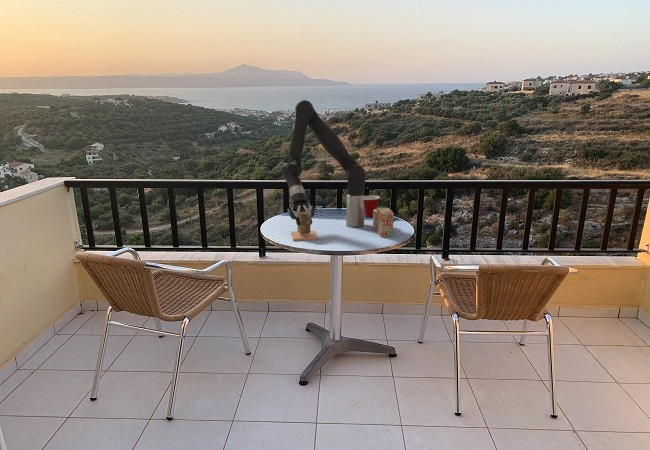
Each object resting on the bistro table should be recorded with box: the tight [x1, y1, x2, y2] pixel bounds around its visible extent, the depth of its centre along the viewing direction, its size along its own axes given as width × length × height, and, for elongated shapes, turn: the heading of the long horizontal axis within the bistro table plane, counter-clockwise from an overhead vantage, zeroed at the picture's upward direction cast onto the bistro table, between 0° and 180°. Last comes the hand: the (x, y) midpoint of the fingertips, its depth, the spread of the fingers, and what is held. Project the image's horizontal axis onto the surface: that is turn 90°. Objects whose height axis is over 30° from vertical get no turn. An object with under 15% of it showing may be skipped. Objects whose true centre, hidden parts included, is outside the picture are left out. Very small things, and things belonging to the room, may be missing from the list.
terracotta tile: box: [290, 230, 319, 242], centre depth 199 cm, size 12×12×1 cm
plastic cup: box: [363, 194, 381, 218], centre depth 238 cm, size 11×11×12 cm
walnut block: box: [297, 210, 311, 234], centre depth 197 cm, size 5×5×10 cm
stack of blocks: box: [372, 207, 395, 238], centre depth 208 cm, size 21×6×12 cm, turn 4°
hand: (305, 224), depth 196 cm, fingers closed on walnut block, 5 cm apart
